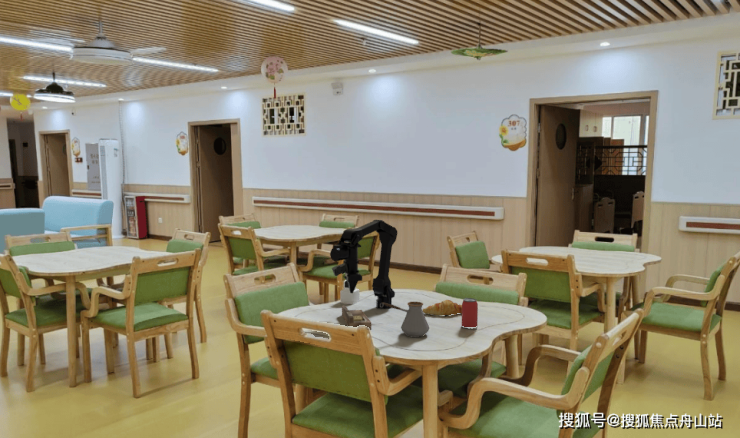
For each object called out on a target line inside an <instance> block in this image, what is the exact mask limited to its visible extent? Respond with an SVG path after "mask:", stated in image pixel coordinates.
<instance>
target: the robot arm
mask: <svg viewBox="0 0 740 438" xmlns="http://www.w3.org/2000/svg"><path fill="white" fill-rule="evenodd" d="M374 232H376V233H377V234H378V238H379V241H380V244H381V246H380V254H379V264H378V273H377V276H376V277H375V278H374V277H373V279H372V285H371V287H372V291H373V295H374V297H376V298H377V299H375V301H376V302H375V303H376V304H375V306H376V307H375V308H376V309H378V310H388V309H392V308H391V307H389V306H386V305H383V304H382V302H384V303H388V304H391V305H393V304H392V303H393V302H392V299H393V298H395V295H396V292H395V290H393V288H392V282H391V278H390V275H389V274H390V266H391V265H390V264H391V258H392V249H393V245H394V244H395V242H396V241H397V237H398V230H397V228H396V227H395V226H393V225H390V224H389V223H387V222H385V221H384V220H383V219H374V220H372V221H370V222H368V223H366V224H363V225H361V226H359V227H356V228H347V229H344V230H343V232H342V234H341V237H340V238H339V241H338V242H337V244H334V245H333V248H332V249H331V250H330V253H329V257H330V259H331V260H332V261H333V262H339V261H343V263H341V264H338V265H336V266H333V267H331V270H332V272H333V275H334V277H339V276H340V275H344V274H345V275H344V276H343V278H344V279H345V280H347V281H348V286H349V290H350V293H353V292H354V289H356V288H357V284H358V282H362V281H363V275H362V274H360V270H359V264H360V263H359V262H360V261H359V252H358V251H359V248H362V245H361V244H360V241H362V240H363V238H364V237H365V236H368V235H369V234H372V233H374ZM355 287H356V288H355ZM380 304H381V305H380ZM380 306H381V307H380ZM382 306H383V307H382Z"/></svg>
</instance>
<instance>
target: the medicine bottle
mask: <svg viewBox="0 0 740 438" xmlns="http://www.w3.org/2000/svg"><path fill="white" fill-rule="evenodd" d="M339 292H340V297H339V298H340V304H348V305H355V304H357V303H359V302H360V289H359V288H357V286H356V287H355V289H354V292H353V293H350V290H349V286H348V281H347V280H346V279H345V280H343V289H341V290H340V291H339Z"/></svg>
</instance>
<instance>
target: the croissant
mask: <svg viewBox="0 0 740 438" xmlns="http://www.w3.org/2000/svg"><path fill="white" fill-rule="evenodd" d="M422 311H423V313H424V315H429V314H430V316H436V315H451V314H457V313H461V314H462V304H458V303H457V302H454V301H452V300H451V299H444V300H443V301H441V302H436V303H434V304H432V305H428V306H427V307H425V308H422ZM457 315H458V314H457Z"/></svg>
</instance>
